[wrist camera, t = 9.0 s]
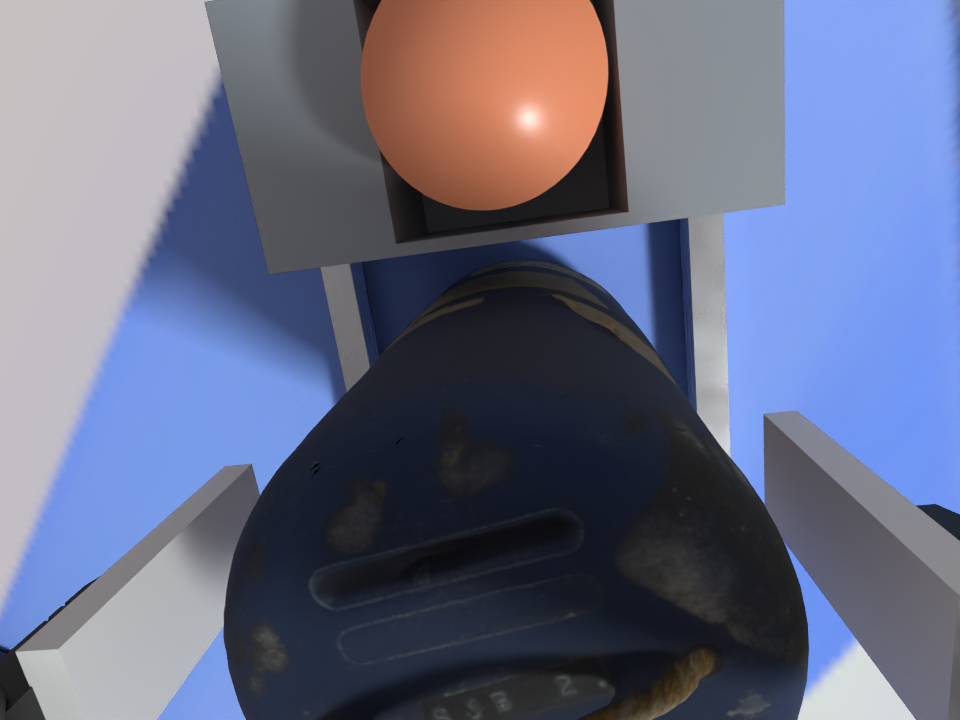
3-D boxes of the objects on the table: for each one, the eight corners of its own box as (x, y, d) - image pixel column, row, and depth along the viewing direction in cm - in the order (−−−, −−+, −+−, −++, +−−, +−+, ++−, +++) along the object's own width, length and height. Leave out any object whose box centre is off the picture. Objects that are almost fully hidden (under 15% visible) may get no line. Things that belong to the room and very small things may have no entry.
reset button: (428, 216, 15) (384, 225, 11) (400, 33, 14) (337, -34, 10) (596, 192, 15) (617, 191, 11) (580, -1, 14) (596, -89, 9)
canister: (404, 262, 24) (51, 440, 7) (639, 244, 23) (931, 403, 6) (429, 473, 27) (220, 989, 9) (642, 466, 25) (850, 1042, 8)
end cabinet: (379, 241, 24) (268, 274, 14) (348, 72, 22) (199, -18, 13) (680, 199, 22) (784, 204, 13) (671, 13, 20) (784, -144, 11)
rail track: (408, 629, 29) (401, 652, 28) (325, 223, 24) (311, 225, 22) (725, 616, 27) (735, 639, 26) (710, 167, 22) (721, 165, 20)
